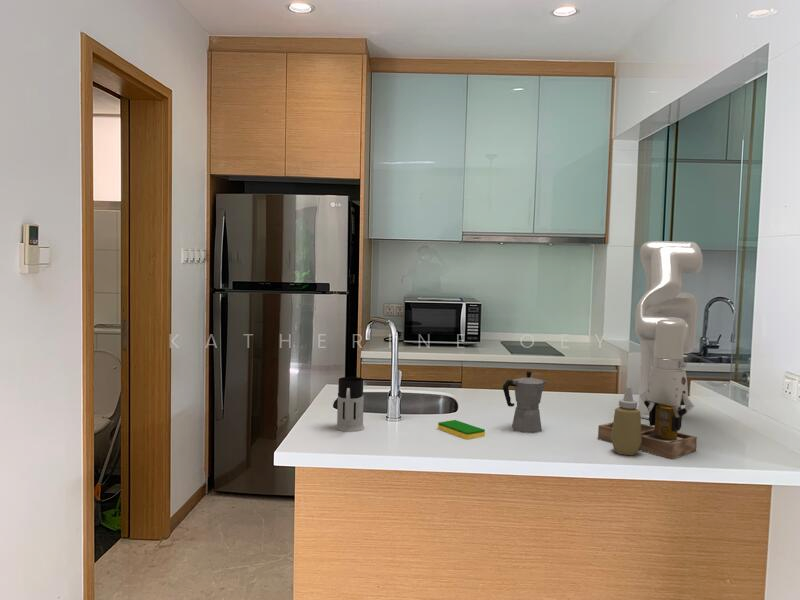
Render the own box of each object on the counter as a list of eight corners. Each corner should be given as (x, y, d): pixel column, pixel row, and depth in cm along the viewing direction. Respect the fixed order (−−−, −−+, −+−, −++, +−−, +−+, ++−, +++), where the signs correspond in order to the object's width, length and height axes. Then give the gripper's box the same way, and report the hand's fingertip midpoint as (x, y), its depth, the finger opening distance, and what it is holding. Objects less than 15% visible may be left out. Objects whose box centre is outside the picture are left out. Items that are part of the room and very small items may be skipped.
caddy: (623, 432, 199) (623, 419, 199) (696, 451, 181) (696, 437, 181) (597, 438, 191) (598, 425, 191) (671, 459, 173) (672, 444, 173)
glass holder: (365, 424, 201) (366, 376, 200) (361, 437, 187) (362, 386, 186) (337, 423, 201) (338, 376, 200) (331, 436, 187) (332, 385, 186)
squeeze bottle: (605, 448, 182) (608, 384, 180) (633, 448, 182) (636, 385, 181) (617, 457, 174) (620, 390, 172) (646, 457, 174) (649, 391, 173)
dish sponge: (467, 441, 187) (467, 432, 187) (437, 430, 198) (437, 422, 198) (485, 437, 191) (485, 429, 191) (454, 427, 202) (455, 419, 202)
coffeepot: (536, 423, 207) (539, 368, 206) (553, 431, 198) (555, 373, 197) (494, 427, 202) (496, 369, 201) (509, 435, 193) (511, 375, 192)
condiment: (684, 439, 181) (686, 397, 180) (665, 443, 176) (667, 400, 175) (661, 433, 187) (663, 392, 186) (642, 437, 182) (644, 395, 182)
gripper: (705, 367, 176) (701, 433, 177) (647, 358, 189) (644, 419, 190) (691, 370, 171) (687, 437, 172) (632, 360, 185) (629, 423, 186)
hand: (664, 427), depth 181 cm, fingers closed on condiment, 6 cm apart
